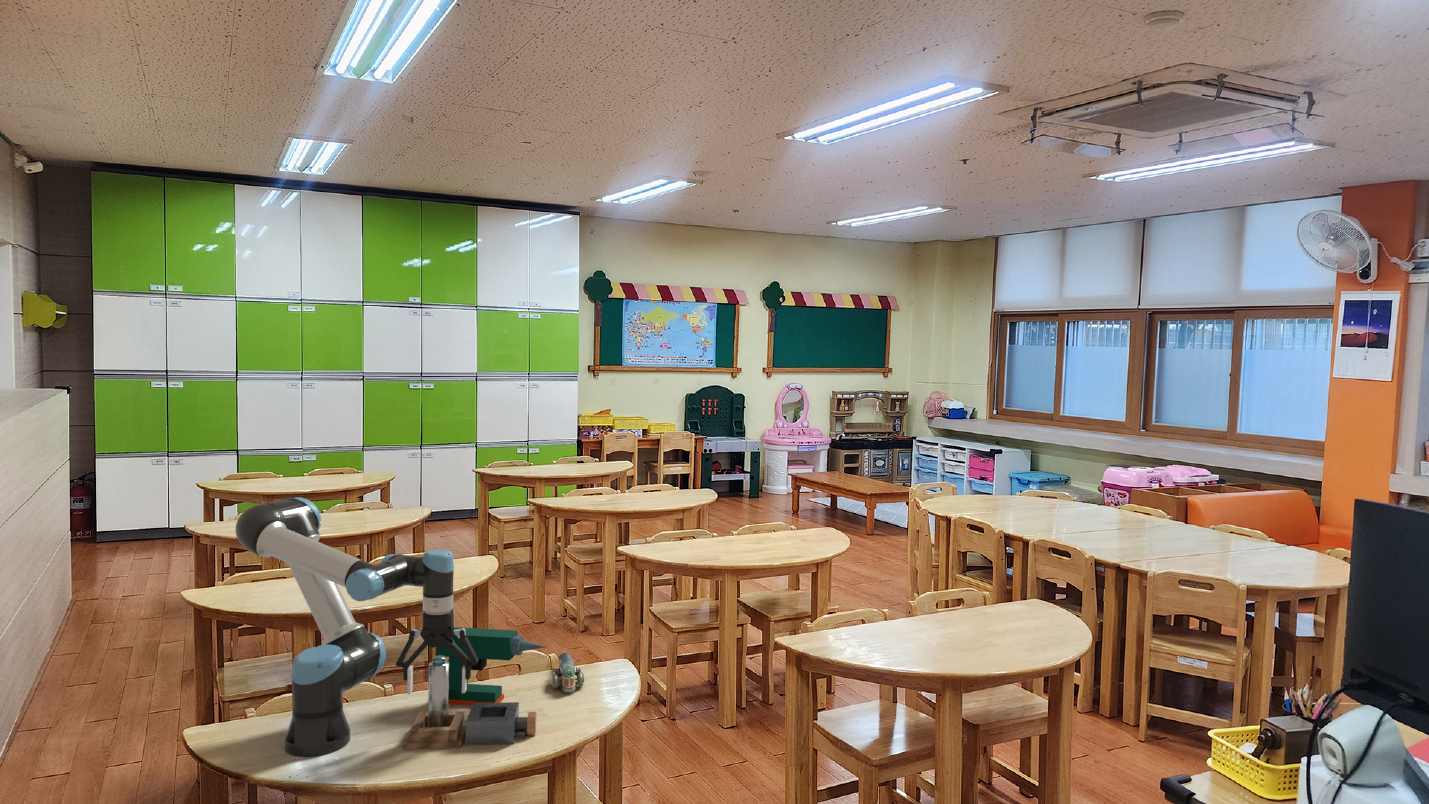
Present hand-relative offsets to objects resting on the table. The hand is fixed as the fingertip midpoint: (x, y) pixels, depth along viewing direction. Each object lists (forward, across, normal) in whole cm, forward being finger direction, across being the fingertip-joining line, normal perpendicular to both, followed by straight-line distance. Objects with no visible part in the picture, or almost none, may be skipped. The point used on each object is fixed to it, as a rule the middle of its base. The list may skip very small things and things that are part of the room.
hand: (437, 691), depth 225 cm
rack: (+12, 0, 0) cm, 12 cm away
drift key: (+11, +21, 0) cm, 24 cm away
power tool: (+12, +11, +22) cm, 27 cm away
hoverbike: (+12, +31, +38) cm, 51 cm away
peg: (+11, 0, 0) cm, 11 cm away
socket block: (+12, +15, 0) cm, 19 cm away
